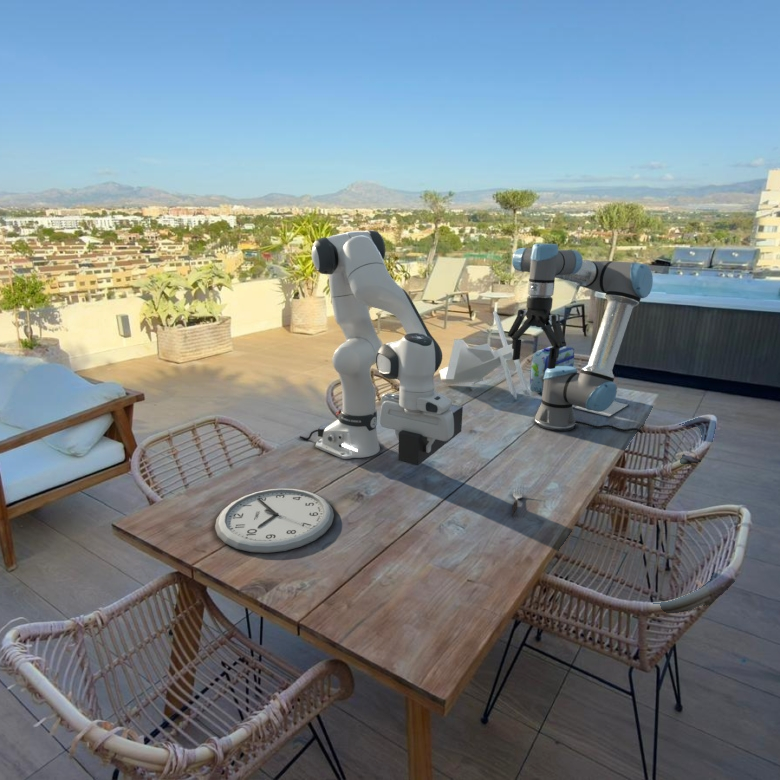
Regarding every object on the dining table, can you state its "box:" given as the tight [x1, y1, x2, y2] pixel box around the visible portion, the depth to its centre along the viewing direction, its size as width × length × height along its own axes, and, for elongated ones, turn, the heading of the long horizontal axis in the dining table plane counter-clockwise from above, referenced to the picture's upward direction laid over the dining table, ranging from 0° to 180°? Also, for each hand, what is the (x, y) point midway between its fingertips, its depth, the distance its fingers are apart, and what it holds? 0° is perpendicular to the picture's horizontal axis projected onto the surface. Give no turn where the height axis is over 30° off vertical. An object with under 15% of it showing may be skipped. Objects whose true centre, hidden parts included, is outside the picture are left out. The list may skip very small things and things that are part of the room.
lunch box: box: [529, 345, 575, 394], centre depth 245 cm, size 26×11×21 cm, turn 134°
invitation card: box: [573, 400, 629, 418], centre depth 226 cm, size 21×1×15 cm
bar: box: [397, 403, 464, 467], centre depth 145 cm, size 28×6×8 cm, turn 149°
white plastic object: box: [438, 310, 531, 400], centre depth 245 cm, size 37×45×31 cm
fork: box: [511, 484, 525, 517], centre depth 145 cm, size 3×16×2 cm, turn 160°
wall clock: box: [214, 488, 335, 554], centre depth 135 cm, size 30×2×30 cm
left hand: (414, 448), depth 136 cm, fingers closed on bar, 6 cm apart
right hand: (533, 363), depth 165 cm, fingers open, 13 cm apart
